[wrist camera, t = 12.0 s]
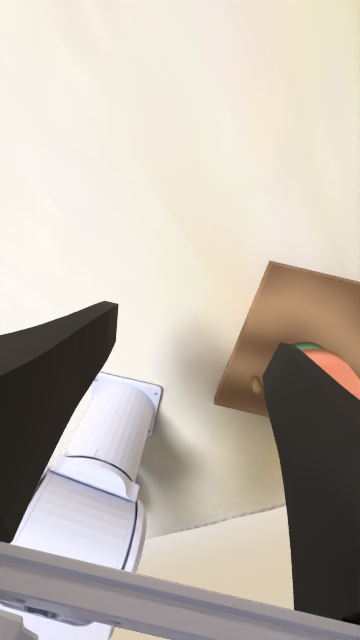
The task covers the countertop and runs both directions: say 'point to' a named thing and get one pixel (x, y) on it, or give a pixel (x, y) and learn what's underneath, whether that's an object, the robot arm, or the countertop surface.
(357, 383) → the lid
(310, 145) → the countertop surface
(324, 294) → the board
